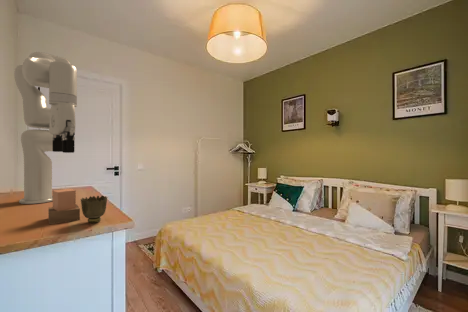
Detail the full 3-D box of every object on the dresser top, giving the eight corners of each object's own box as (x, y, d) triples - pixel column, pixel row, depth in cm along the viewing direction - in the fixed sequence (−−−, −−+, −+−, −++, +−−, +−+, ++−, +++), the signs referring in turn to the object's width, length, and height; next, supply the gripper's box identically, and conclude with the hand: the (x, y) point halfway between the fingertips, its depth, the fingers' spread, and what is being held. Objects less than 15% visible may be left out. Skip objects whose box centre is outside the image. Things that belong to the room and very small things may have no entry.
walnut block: (48, 219, 79) (48, 207, 79) (76, 215, 85) (76, 204, 84) (49, 225, 73) (49, 212, 73) (79, 220, 78) (79, 208, 78)
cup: (79, 221, 77) (79, 196, 77) (105, 217, 81) (105, 194, 81) (81, 227, 71) (81, 201, 71) (109, 223, 76) (109, 198, 75)
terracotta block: (52, 208, 78) (52, 190, 78) (70, 205, 82) (69, 188, 82) (57, 211, 75) (57, 192, 75) (75, 208, 79) (75, 190, 79)
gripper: (41, 101, 81) (41, 151, 81) (58, 95, 70) (58, 153, 71) (67, 105, 87) (67, 151, 87) (86, 100, 76) (86, 153, 77)
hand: (63, 152), depth 79 cm, fingers open, 9 cm apart
